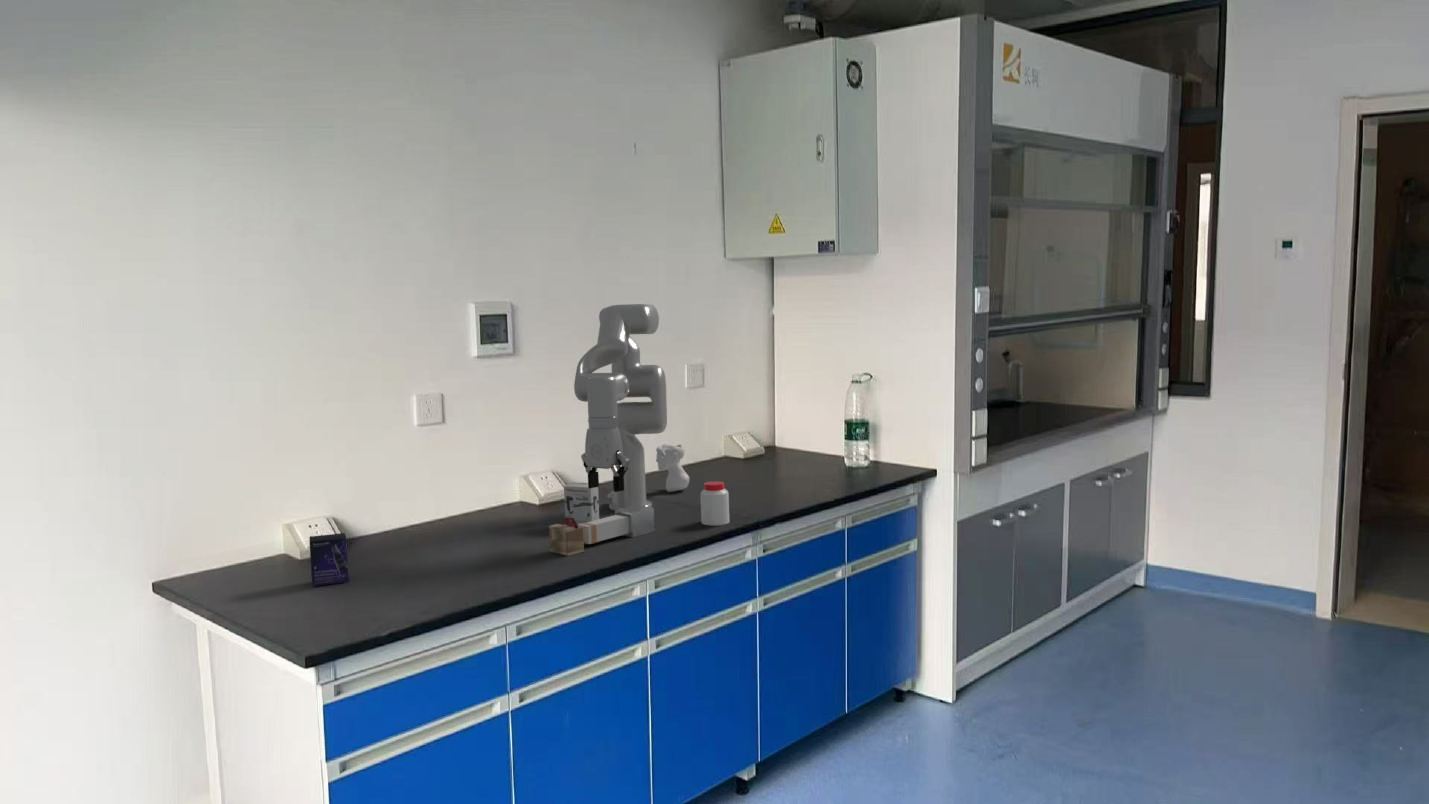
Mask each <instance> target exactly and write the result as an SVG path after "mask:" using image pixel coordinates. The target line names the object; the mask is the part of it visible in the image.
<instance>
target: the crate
mask: <svg viewBox="0 0 1429 804" xmlns="http://www.w3.org/2000/svg"><path fill="white" fill-rule="evenodd" d="M548 530H549V549H550V551H549V552H552V553H555V554H558V553H559V555H564V556H568V557H569V556H573V555H576V554H581V553H583V552H585V543H584V540H583V528H575V527H570V526H567V525H566V524H565V523H564V524H558V523H555V524H551V525H549V526H548Z"/></svg>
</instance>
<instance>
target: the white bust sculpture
mask: <svg viewBox="0 0 1429 804" xmlns="http://www.w3.org/2000/svg"><path fill="white" fill-rule="evenodd" d="M655 451H656V460H655V462H656V463H657V469H658V471H660V472H665V471H666V470H667V471H668V475H667V477H666V482H665V490H666V491H667V492H668V493H674V492H677V491H680V490H681V491H682V490H683V489H686V488H687V487H689V483H690V476H689V474H688V473H687V472H686V471H685V470H684V468H683V466H682V464H681V460H682V459H683V458H684V455H685V448H684V446H683V445H682V444H677V445H676V446H674V445H670V444H665V443H664V444H661V445H660V446H657V447H656V449H655Z"/></svg>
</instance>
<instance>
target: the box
mask: <svg viewBox="0 0 1429 804" xmlns="http://www.w3.org/2000/svg"><path fill="white" fill-rule="evenodd" d="M308 539H309V554H310V556H309V557H310V573H311V574H310V576H311V582H312V583H311V584H312V587H313V588H314V587H318V586H323V585H324V586H327V585H335V584H344V583H349V582H350V579H349V564H348V545H347V536H346V534H345V532H341V533H333V534H332V533H331V534H323V535H320V534H319V535H311V536H309V537H308Z"/></svg>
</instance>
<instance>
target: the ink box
mask: <svg viewBox="0 0 1429 804" xmlns="http://www.w3.org/2000/svg"><path fill="white" fill-rule="evenodd" d="M563 495H564V496H563V497H564V499H563V501H564V521H565V523H564V524H566V525H567V526H570V527H575V529H577V528H578V525H579V524H582V523H586V522H590V521H594V520H598V519H600V505H599V504H600V503H599V486H598V487H595V488H588V482H575V481H574V482H570V483H568V484H566V485H564V486H563Z"/></svg>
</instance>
